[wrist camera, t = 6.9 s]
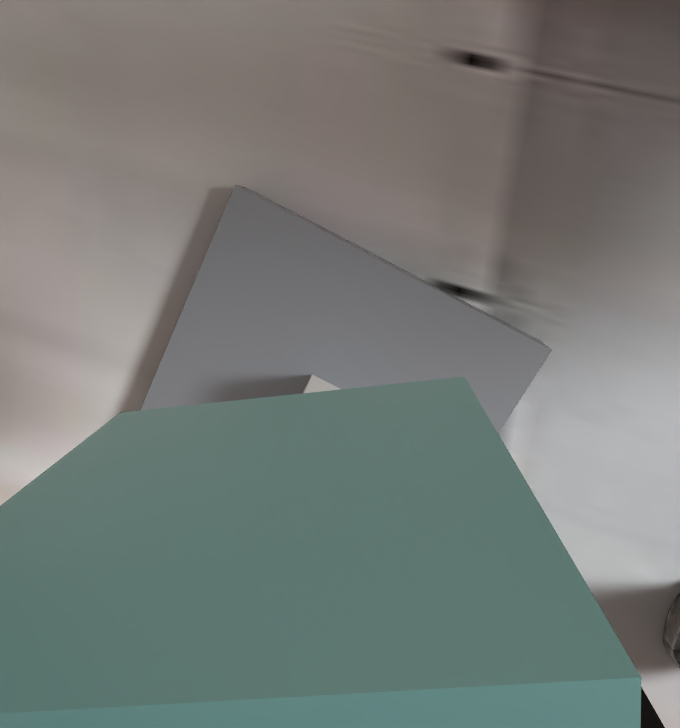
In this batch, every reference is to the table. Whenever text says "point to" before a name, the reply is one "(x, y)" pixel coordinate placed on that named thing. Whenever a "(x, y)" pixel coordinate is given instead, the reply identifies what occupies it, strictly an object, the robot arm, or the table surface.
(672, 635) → the toy
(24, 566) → the teal block
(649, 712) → the robot arm
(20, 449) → the table surface
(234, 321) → the grey flat block
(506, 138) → the table surface
